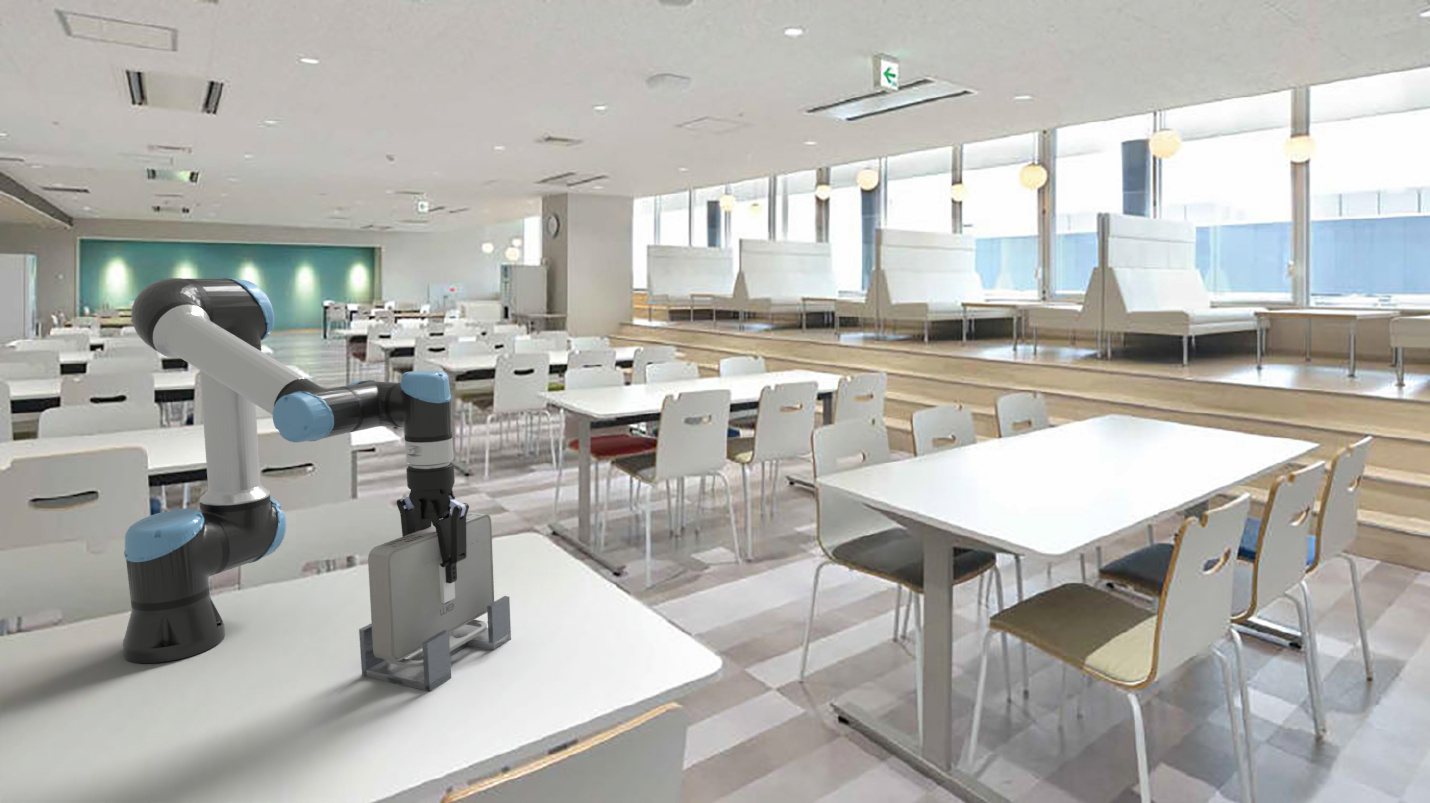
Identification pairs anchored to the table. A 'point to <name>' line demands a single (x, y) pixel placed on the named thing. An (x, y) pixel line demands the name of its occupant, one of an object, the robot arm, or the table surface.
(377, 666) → the stand
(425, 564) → the network device
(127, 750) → the table surface
